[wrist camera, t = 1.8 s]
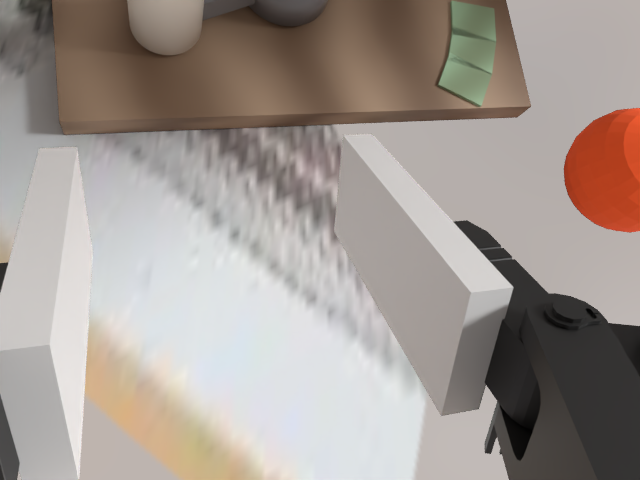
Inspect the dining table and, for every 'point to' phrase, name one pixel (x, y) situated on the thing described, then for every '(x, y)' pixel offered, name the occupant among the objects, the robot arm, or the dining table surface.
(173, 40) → the knobbed stick and post
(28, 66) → the dining table surface
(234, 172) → the dining table surface
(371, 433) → the dining table surface
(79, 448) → the robot arm
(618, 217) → the clementine
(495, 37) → the brown wooden board
